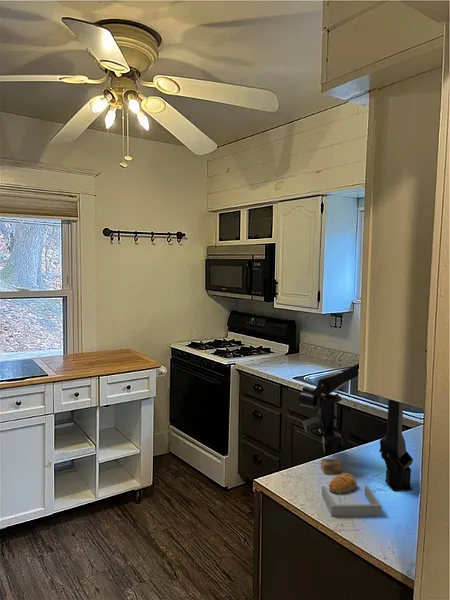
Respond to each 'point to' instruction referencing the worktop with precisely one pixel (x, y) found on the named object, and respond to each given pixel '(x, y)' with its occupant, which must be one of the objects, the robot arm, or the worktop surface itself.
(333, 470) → the cardboard brown box
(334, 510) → the bay
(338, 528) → the worktop surface
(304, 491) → the worktop surface
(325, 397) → the robot arm
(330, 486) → the pastry
